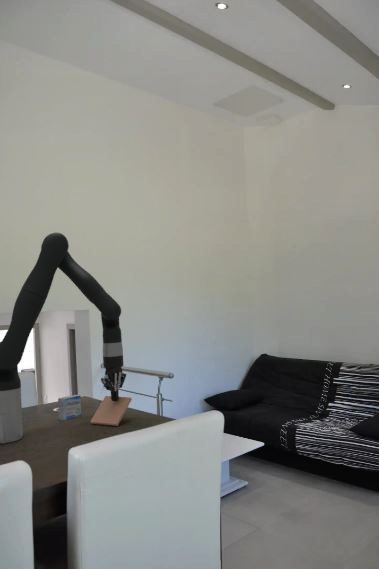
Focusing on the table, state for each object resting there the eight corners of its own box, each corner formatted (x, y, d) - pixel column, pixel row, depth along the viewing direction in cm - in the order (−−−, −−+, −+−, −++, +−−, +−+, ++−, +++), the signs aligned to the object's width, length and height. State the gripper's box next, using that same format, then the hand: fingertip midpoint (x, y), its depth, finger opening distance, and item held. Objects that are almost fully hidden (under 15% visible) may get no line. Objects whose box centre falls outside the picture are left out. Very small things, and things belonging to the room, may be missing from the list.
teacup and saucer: (66, 406, 211) (66, 397, 211) (77, 408, 206) (77, 399, 206) (49, 411, 205) (49, 401, 205) (60, 413, 199) (60, 403, 200)
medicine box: (65, 421, 182) (64, 398, 183) (58, 420, 185) (57, 397, 186) (81, 416, 189) (81, 395, 189) (74, 415, 191) (73, 394, 192)
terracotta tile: (116, 424, 168) (130, 397, 176) (90, 421, 174) (105, 395, 182) (117, 426, 168) (131, 399, 177) (91, 423, 174) (106, 397, 183)
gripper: (109, 356, 170) (111, 405, 170) (131, 352, 182) (133, 397, 181) (93, 356, 174) (95, 403, 173) (115, 352, 186) (117, 396, 185)
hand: (115, 400), depth 177 cm, fingers closed
